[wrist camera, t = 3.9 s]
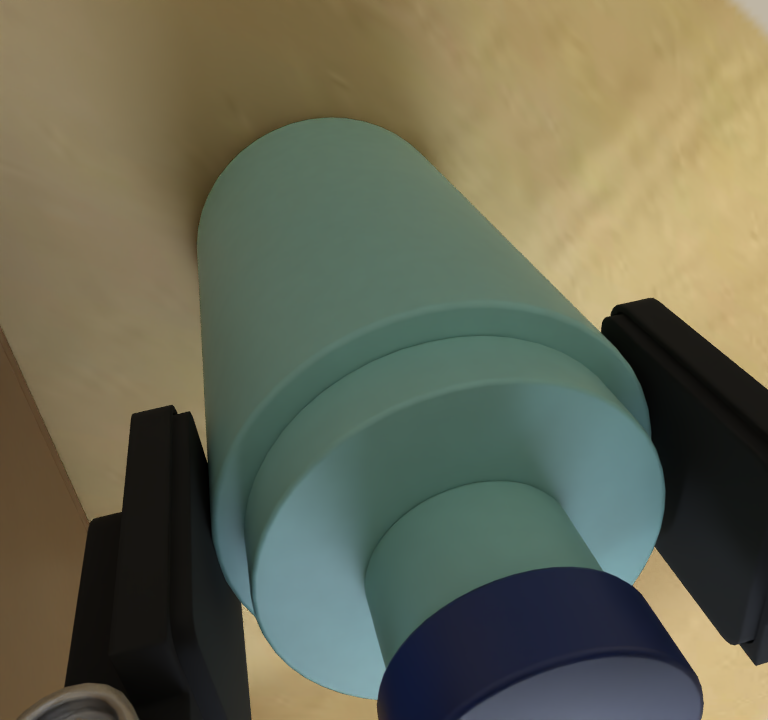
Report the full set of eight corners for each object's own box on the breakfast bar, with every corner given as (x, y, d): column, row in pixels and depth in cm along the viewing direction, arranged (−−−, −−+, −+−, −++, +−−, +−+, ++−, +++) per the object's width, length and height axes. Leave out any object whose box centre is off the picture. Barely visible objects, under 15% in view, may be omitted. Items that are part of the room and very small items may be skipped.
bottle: (165, 143, 15) (131, 646, 5) (443, 94, 16) (934, 432, 6) (230, 382, 18) (295, 992, 8) (459, 331, 19) (789, 825, 9)
